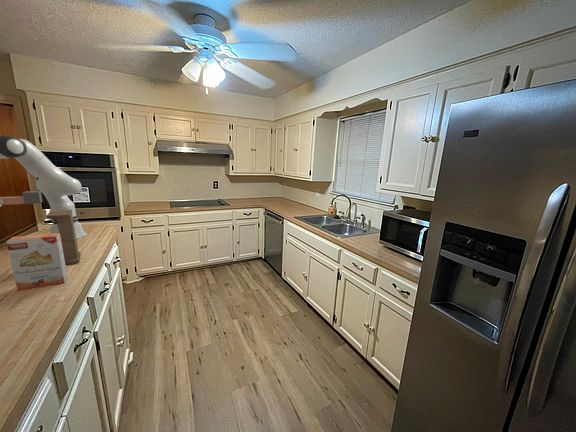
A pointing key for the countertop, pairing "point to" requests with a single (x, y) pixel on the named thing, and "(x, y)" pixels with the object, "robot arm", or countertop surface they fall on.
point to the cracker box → (37, 260)
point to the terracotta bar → (24, 198)
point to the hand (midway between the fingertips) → (4, 199)
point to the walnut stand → (66, 235)
